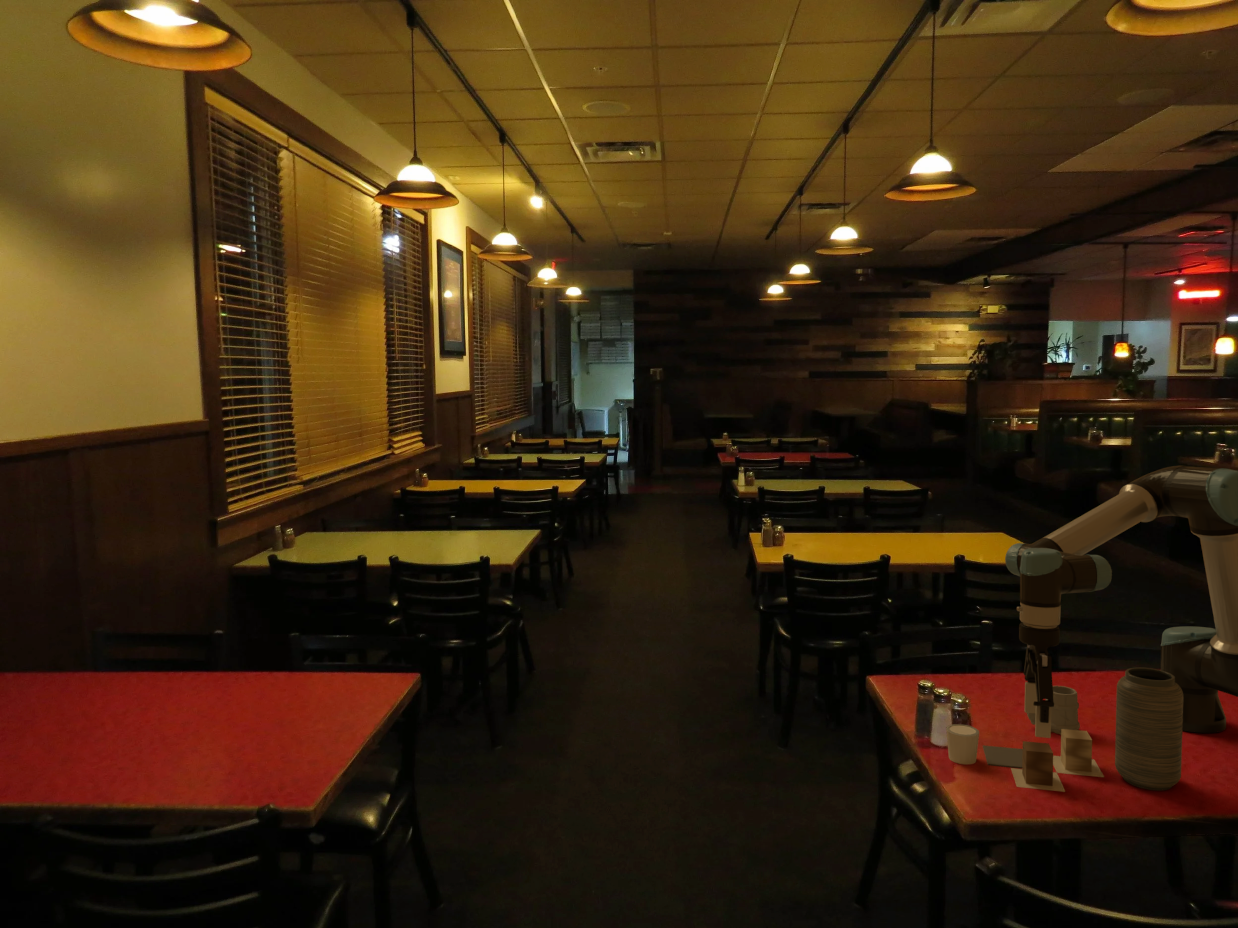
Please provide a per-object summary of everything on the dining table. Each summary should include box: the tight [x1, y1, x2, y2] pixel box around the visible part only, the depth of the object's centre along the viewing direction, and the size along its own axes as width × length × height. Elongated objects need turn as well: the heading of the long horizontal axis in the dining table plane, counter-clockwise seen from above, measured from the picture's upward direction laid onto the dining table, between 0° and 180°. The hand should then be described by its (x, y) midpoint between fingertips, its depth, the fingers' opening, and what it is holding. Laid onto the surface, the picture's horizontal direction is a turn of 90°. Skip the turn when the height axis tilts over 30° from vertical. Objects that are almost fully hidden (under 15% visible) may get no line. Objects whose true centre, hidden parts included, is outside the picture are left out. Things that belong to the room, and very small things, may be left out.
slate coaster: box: [982, 744, 1023, 769], centre depth 189 cm, size 10×10×1 cm
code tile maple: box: [1053, 755, 1105, 778], centre depth 184 cm, size 9×9×1 cm
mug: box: [1026, 685, 1081, 735], centre depth 204 cm, size 8×12×12 cm, turn 80°
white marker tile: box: [1010, 767, 1066, 793], centre depth 178 cm, size 9×9×1 cm
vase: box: [1114, 667, 1183, 792], centre depth 176 cm, size 12×12×23 cm
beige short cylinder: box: [945, 723, 980, 765], centre depth 189 cm, size 7×7×7 cm
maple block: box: [1060, 729, 1093, 772], centre depth 184 cm, size 5×5×7 cm
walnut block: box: [1021, 740, 1054, 786], centre depth 178 cm, size 5×5×7 cm
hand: (1037, 724), depth 177 cm, fingers open, 13 cm apart
